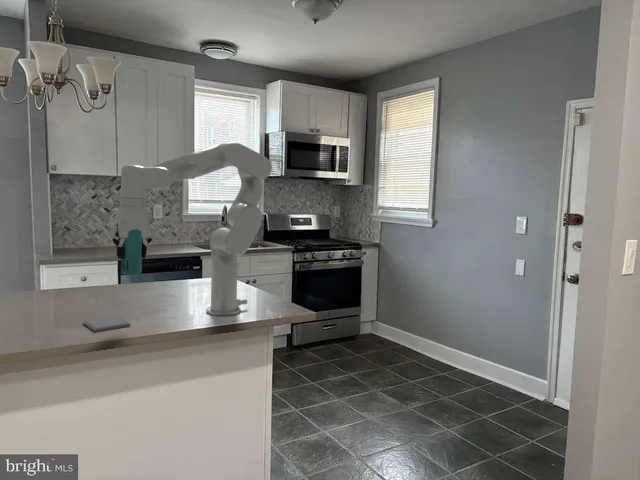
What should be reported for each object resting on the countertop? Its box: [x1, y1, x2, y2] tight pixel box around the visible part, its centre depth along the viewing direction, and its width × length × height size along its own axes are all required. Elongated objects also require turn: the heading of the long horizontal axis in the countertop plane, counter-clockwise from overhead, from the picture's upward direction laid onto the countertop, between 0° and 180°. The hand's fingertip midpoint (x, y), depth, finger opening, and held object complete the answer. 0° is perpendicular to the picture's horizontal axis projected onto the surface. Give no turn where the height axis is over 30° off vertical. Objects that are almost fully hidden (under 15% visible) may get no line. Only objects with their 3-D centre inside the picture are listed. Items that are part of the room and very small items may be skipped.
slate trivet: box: [82, 315, 131, 333], centre depth 153 cm, size 11×11×1 cm
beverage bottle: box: [120, 229, 143, 276], centre depth 154 cm, size 6×7×20 cm
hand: (131, 257), depth 154 cm, fingers closed on beverage bottle, 6 cm apart
